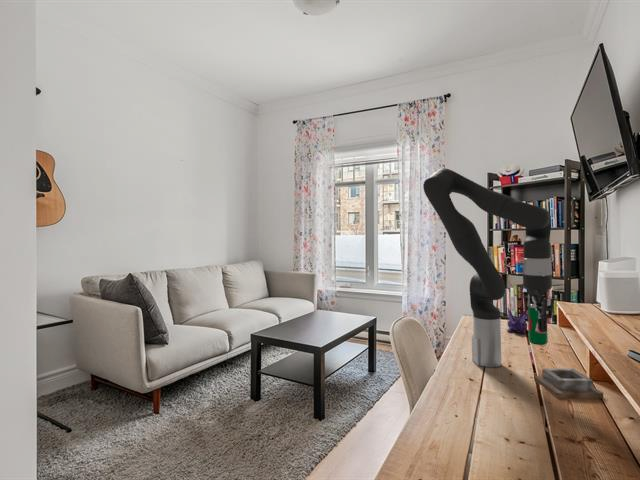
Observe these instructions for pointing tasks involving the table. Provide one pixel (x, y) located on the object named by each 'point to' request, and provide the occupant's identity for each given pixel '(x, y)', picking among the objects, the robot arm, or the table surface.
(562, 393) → the grey hollow square frame
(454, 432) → the table surface
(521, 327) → the creature
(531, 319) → the soda can
